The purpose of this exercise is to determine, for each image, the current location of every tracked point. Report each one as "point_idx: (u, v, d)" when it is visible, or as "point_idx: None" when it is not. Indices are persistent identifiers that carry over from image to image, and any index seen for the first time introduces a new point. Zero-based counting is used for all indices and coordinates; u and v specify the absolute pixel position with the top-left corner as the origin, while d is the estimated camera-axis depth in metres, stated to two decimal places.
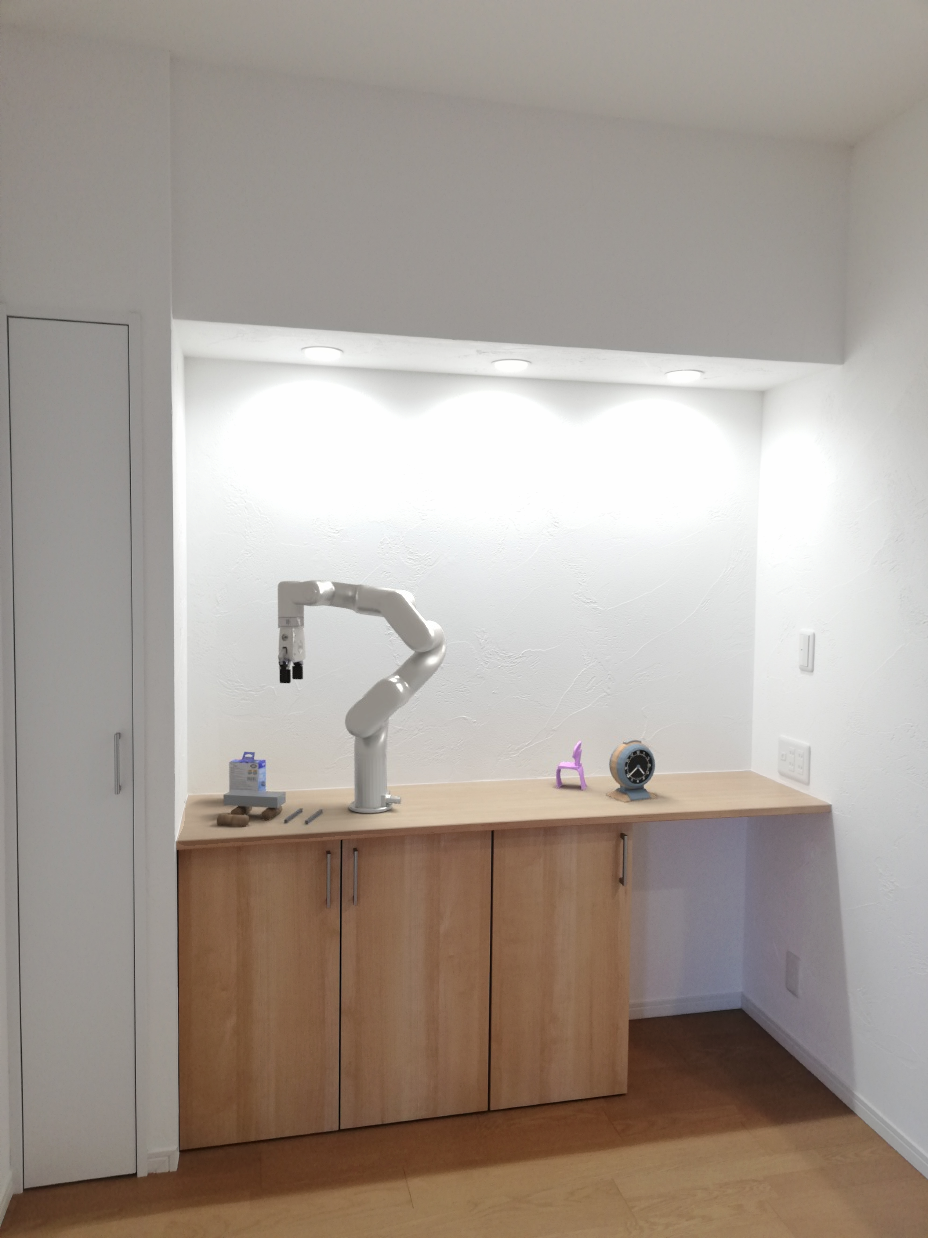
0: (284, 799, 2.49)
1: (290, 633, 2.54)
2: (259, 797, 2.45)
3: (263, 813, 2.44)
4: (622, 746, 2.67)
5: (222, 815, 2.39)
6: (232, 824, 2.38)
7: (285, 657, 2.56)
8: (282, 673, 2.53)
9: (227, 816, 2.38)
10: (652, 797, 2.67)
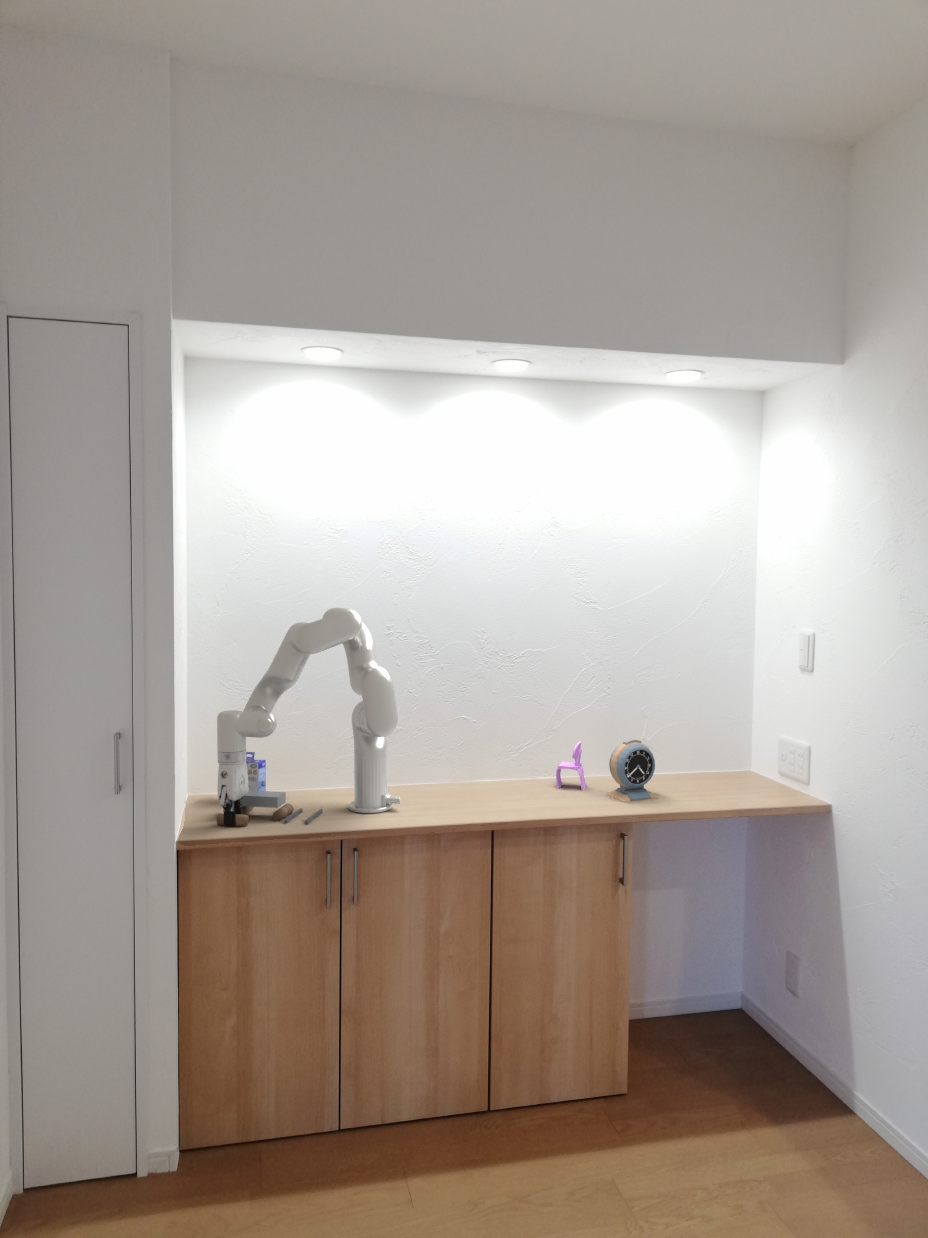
0: (284, 799, 2.49)
1: (230, 770, 2.34)
2: (259, 797, 2.45)
3: (281, 816, 2.43)
4: (622, 746, 2.67)
5: (222, 815, 2.39)
6: None
7: (227, 796, 2.37)
8: (226, 816, 2.36)
9: None
10: (652, 797, 2.67)
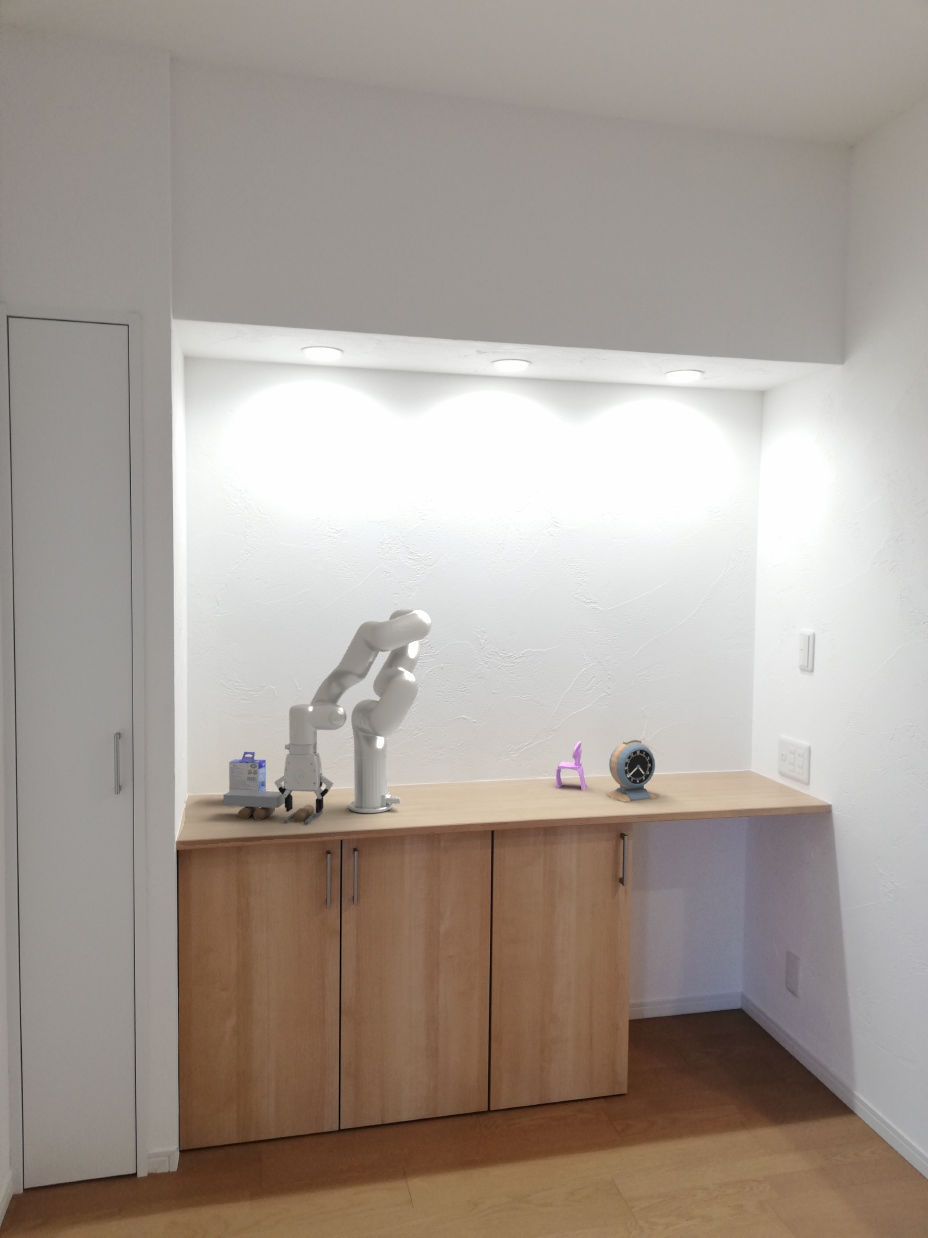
0: (284, 799, 2.49)
1: None
2: (259, 797, 2.45)
3: (256, 817, 2.44)
4: (622, 746, 2.67)
5: (305, 806, 2.49)
6: None
7: None
8: None
9: None
10: (652, 797, 2.67)
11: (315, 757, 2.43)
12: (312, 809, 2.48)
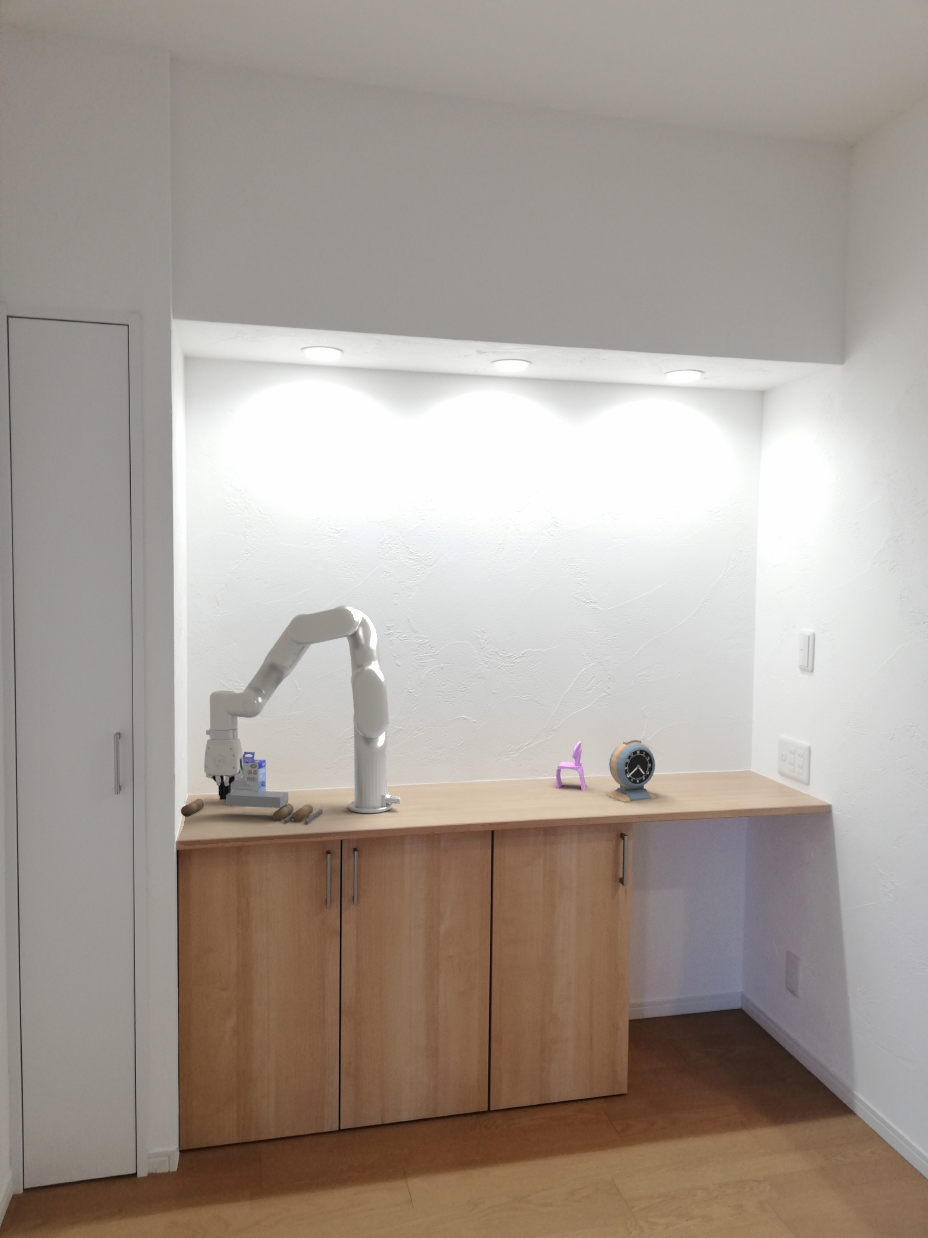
0: (287, 799, 2.49)
1: None
2: (262, 797, 2.45)
3: (281, 816, 2.43)
4: (622, 746, 2.67)
5: (303, 806, 2.49)
6: None
7: None
8: None
9: None
10: (652, 797, 2.67)
11: (234, 742, 2.47)
12: (310, 808, 2.48)
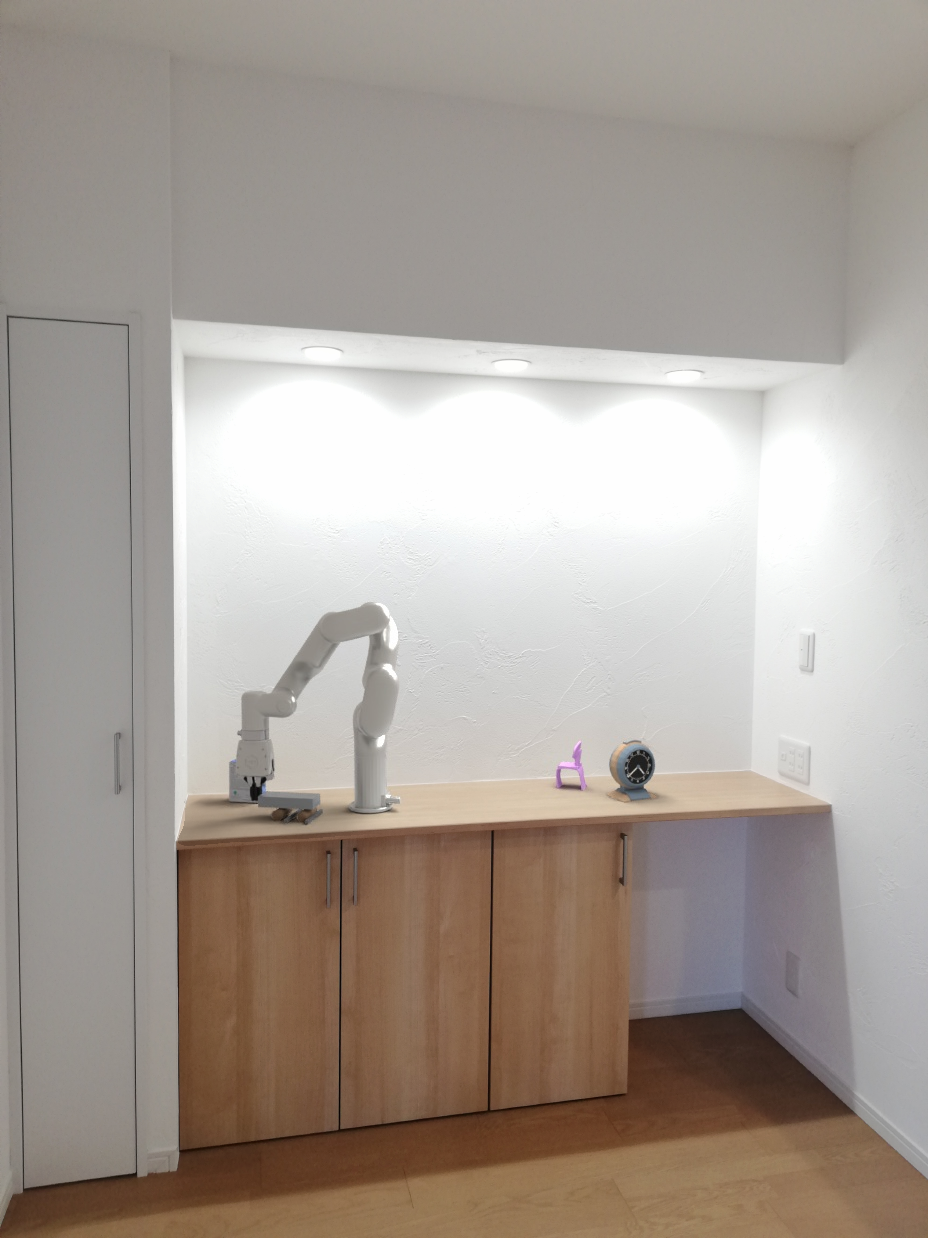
0: (319, 801, 2.47)
1: (238, 745, 2.47)
2: (294, 799, 2.43)
3: (279, 815, 2.43)
4: (622, 746, 2.67)
5: None
6: None
7: None
8: None
9: None
10: (652, 797, 2.67)
11: (266, 743, 2.45)
12: None
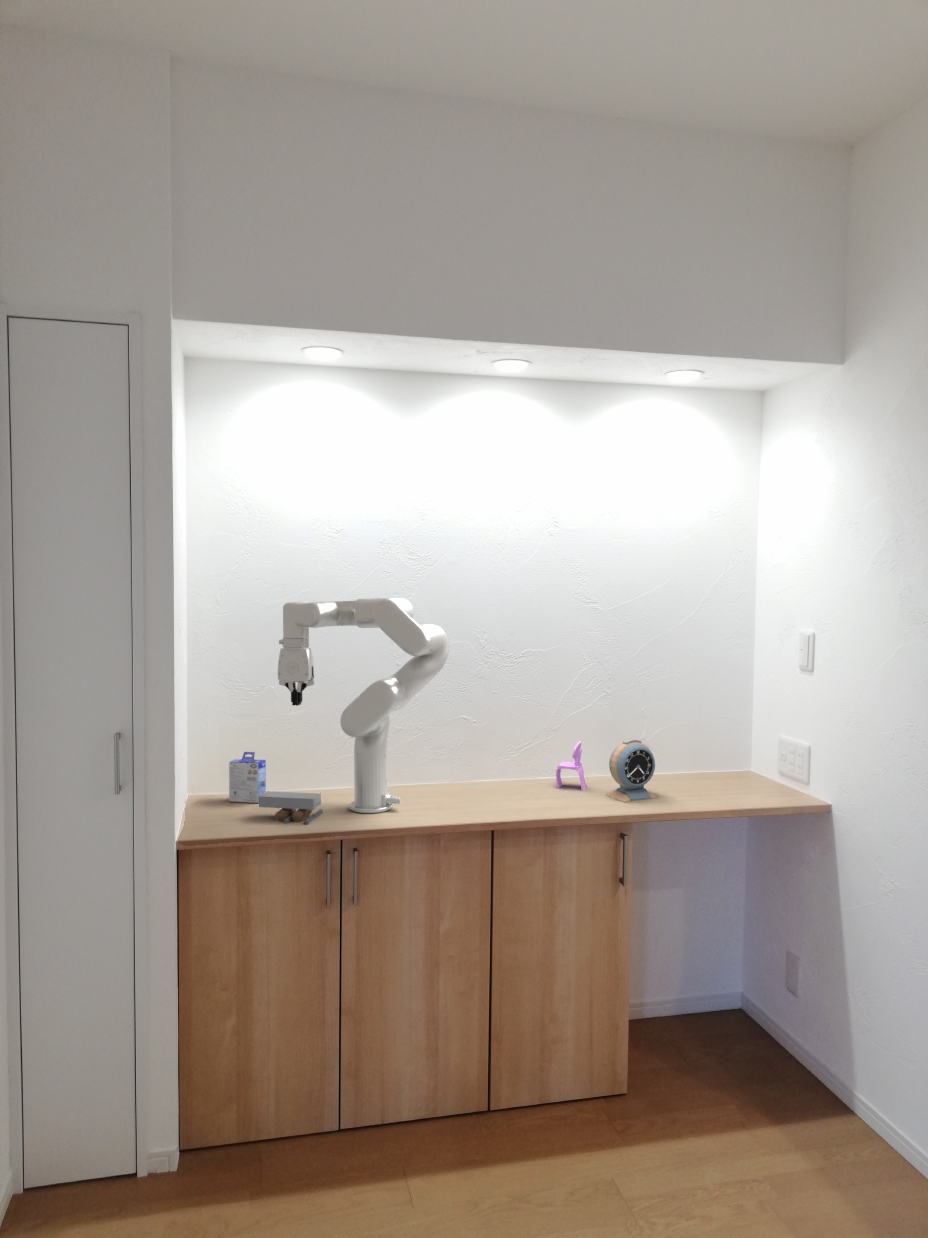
0: (319, 801, 2.47)
1: None
2: (295, 799, 2.43)
3: (283, 818, 2.43)
4: (622, 746, 2.67)
5: None
6: None
7: None
8: None
9: None
10: (652, 797, 2.67)
11: (307, 650, 2.60)
12: None
